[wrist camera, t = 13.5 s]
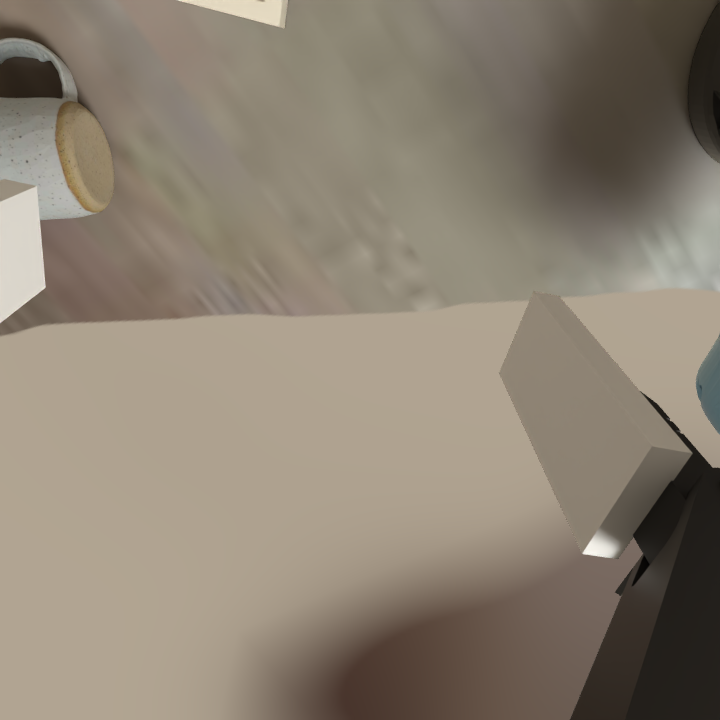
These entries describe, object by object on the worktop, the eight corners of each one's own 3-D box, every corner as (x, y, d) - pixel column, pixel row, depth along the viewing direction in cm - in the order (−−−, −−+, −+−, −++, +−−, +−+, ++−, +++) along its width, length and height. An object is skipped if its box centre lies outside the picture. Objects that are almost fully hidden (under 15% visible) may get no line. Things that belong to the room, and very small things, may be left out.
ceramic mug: (131, 201, 39) (86, 230, 32) (22, 208, 39) (-45, 237, 33) (87, 35, 34) (23, 28, 27) (-38, 42, 34) (-132, 38, 27)
